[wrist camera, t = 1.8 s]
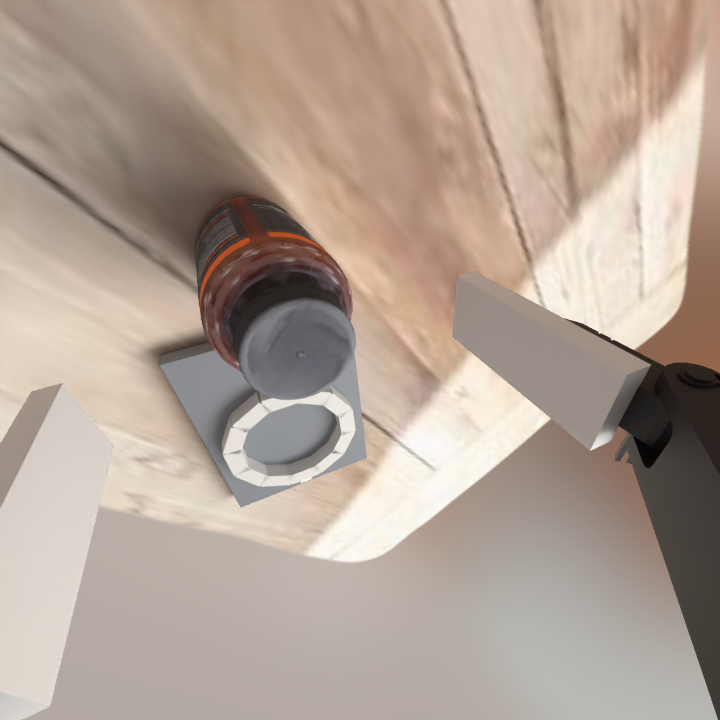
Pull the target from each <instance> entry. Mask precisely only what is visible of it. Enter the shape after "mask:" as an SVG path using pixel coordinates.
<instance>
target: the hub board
mask: <svg viewBox="0 0 720 720" xmlns="http://www.w3.org/2000/svg"><path fill="white" fill-rule="evenodd" d="M160 367H161V369H162V371H163V372H164V374H165V376H166V378H167V379H168V381H169V383H170V385H171V386H172V388H173V390H174V392H175V393H176V395H177V397H178V399H179V400H180V402H181V404H182V406H183V407H184V409H185V411H186V413H187V414H188V416H189V418H190V420H191V421H192V423H193V425H194V427H195V428H196V430H197V432H198V434H199V435H200V437H201V439H202V441H203V442H204V444H205V446H206V448H207V449H208V451H209V453H210V455H211V456H212V458H213V460H214V462H215V463H216V465H217V467H218V468H219V470H220V472H221V474H222V475H223V477H224V479H225V481H226V482H227V484H228V486H229V488H230V489H231V491H232V493H233V495H234V496H235V498H236V500H237V502H238V503H239V505H240V507H243V506H246V505H248V504H251V503H253V502H256V501H258V500H261V499H264V498H266V497H269V496H271V495H274V494H276V493H279V492H281V491H284V490H286V489H289V488H291V487H294V486H296V485H299V484H301V483H304V482H307V481H309V480H312V479H314V478H317V477H319V476H322V475H324V474H327V473H329V472H332V471H334V470H337V469H339V468H342V467H345V466H347V465H350V464H352V463H355V462H357V461H360V460H362V459H365V458H367V455H366V446H365V438H364V430H363V421H362V413H361V405H360V396H359V388H358V380H357V371H356V363H355V354H354V355H353V359H352V360H351V362H350V364H349V366H348V368H347V370H346V371H345V372H344V374H343V375H342V376H341V378H340V379H339V380H337V381H336V382H335V383H334V384H333V385H331V386H330V387H329V388H327V389H326V390H324V391H322V392H320V393H318V394H316V395H314V396H310V397H307V398H303V399H297V400H279V399H274V398H271V397H268V396H266V395H264V394H261V393H259V392H258V391H257V390H255V389H254V388H253V387H251V385H250V384H249V383H248V382H247V381H246V380H245V378H244V376H243V374H242V372H240V371H238V370H236V369H235V368H233V367H232V366H230V365H229V364H227V363H226V362H225V361H224V360H223V359H222V358H221V357H220V356H219V355H218V354H217V353H216V352H215V351H214V349H213V348H212V346H211V345H210V343H209V342H206V343H202V344H199V345H195V346H191V347H188V348H184V349H180V350H176V351H173V352H169V353H165V354H162V355H161V358H160Z"/></svg>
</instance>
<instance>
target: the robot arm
mask: <svg viewBox="0 0 720 720" xmlns="http://www.w3.org/2000/svg"><path fill="white" fill-rule="evenodd" d="M453 338H455V339H456V340H457V341H458V342H460V343H461V344H462V345H463V346H464V347H466V348H467V349H468V350H469V351H470V352H472V353H473V354H474V355H475V356H476V357H478V358H479V359H480V360H481V361H482V362H484V363H485V364H486V365H487V366H489V367H490V368H491V369H492V370H493V371H495V372H496V373H497V374H498V375H499V376H501V377H502V378H503V379H504V380H505V381H507V382H508V383H509V384H510V385H511V386H513V387H514V388H515V389H516V390H517V391H519V392H520V393H521V394H522V395H524V396H525V397H526V398H527V399H528V400H530V401H531V402H532V403H533V404H534V405H536V406H537V407H538V408H539V409H540V410H542V411H543V412H544V413H545V414H546V415H548V416H549V417H550V418H551V419H553V420H554V421H555V422H556V423H557V424H559V425H560V426H561V427H562V428H564V429H565V430H566V431H567V432H568V433H569V434H571V435H572V436H573V437H574V438H575V439H577V440H578V441H579V442H580V443H582V444H583V445H584V446H585V447H586V448H588V449H589V450H590V451H591V450H593V449H595V448H597V447H599V446H601V445H603V444H605V443H607V442H609V441H611V439H612V437H613V435H614V433H615V432H616V430H617V428H618V426H620V427H621V428H623V429H624V430H626V431H627V432H628V433H627V435H626V437H625V438H624V440H623V442H622V444H621V445H620V447H619V449H618V451H617V452H616V454H615V460H616V461H620V460H621V458H622V457H623V455H624V453H625V452H627V451H628V454H629V458H628V459H627V461H626V462H627V463H631V464H632V465H633V468H634V471H635V474H636V477H637V480H638V483H639V486H640V489H641V492H642V495H643V498H644V501H645V504H646V507H647V510H648V513H649V516H650V519H651V522H652V525H653V528H654V531H655V534H656V537H657V539H658V543H659V545H660V548H661V551H662V554H663V557H664V560H665V563H666V566H667V569H668V572H669V575H670V578H671V581H672V584H673V587H674V590H675V593H676V596H677V599H678V602H679V605H680V608H681V611H682V614H683V617H684V620H685V623H686V626H687V629H688V632H689V635H690V637H691V640H692V643H693V646H694V649H695V652H696V655H697V658H698V661H699V664H700V667H701V670H702V673H703V676H704V679H705V682H706V685H707V688H708V691H709V694H710V697H711V700H712V703H713V706H714V709H715V711H716V715H717V718H718V720H720V373H718V372H716V371H714V370H712V369H709V368H706V367H704V366H700V365H696V364H690V363H672V364H669V365H667V366H663V365H661V364H659V363H657V362H655V361H654V360H651V359H650V358H648V357H646V356H644V355H642V354H640V353H638V352H636V351H634V350H632V349H630V348H628V347H627V346H625V345H623V344H621V343H619V342H617V341H615V340H613V341H612V340H611V338H609V337H607V336H605V335H603V334H599V333H598V331H596V330H594V329H592V328H590V327H588V326H586V325H584V324H582V323H578V322H575V321H572V320H568V319H565V318H562V317H560V316H558V315H556V314H555V313H553V312H551V311H549V310H547V309H545V308H543V307H541V306H539V305H538V304H536V303H534V302H532V301H530V300H528V299H526V298H524V297H522V296H521V295H519V294H517V293H515V292H513V291H511V290H509V289H507V288H505V287H504V286H502V285H500V284H498V283H496V282H494V281H492V280H490V279H489V278H487V277H485V276H483V275H481V274H479V273H477V272H475V271H473V272H470V273H466V274H462V275H459V276H458V278H457V290H456V302H455V313H454V325H453ZM113 447H114V446H113V444H112V443H111V442H110V441H109V439H108V438H107V437H106V436H105V435H104V433H103V432H102V431H101V430H100V428H99V427H98V426H97V425H96V423H95V422H94V421H93V420H92V419H91V417H90V416H89V415H88V414H87V412H86V411H85V410H84V409H83V407H82V406H81V405H80V404H79V403H78V401H77V400H76V399H75V398H74V396H73V395H72V394H71V393H70V391H69V390H68V389H67V388H66V387H65V385H64V384H63V383H62V384H58V385H54V386H51V387H47V388H43V389H39V390H36V391H32V392H31V393H30V395H29V397H28V398H27V400H26V402H25V403H24V405H23V407H22V408H21V410H20V412H19V413H18V415H17V417H16V418H15V420H14V422H13V423H12V425H11V427H10V428H9V430H8V432H7V433H6V435H5V437H4V438H3V440H2V442H1V443H0V720H22V719H24V718H26V717H28V716H30V715H33V714H35V713H37V712H39V711H41V710H43V709H45V708H47V707H49V706H50V704H51V700H52V696H53V692H54V688H55V683H56V679H57V675H58V671H59V667H60V663H61V659H62V655H63V651H64V647H65V643H66V638H67V634H68V630H69V626H70V622H71V618H72V614H73V610H74V606H75V602H76V598H77V594H78V590H79V585H80V581H81V577H82V573H83V569H84V565H85V561H86V557H87V553H88V548H89V545H90V540H91V536H92V532H93V528H94V524H95V520H96V516H97V512H98V508H99V504H100V500H101V496H102V492H103V487H104V483H105V479H106V475H107V471H108V467H109V463H110V459H111V455H112V451H113Z"/></svg>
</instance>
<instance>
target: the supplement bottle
mask: <svg viewBox="0 0 720 720" xmlns="http://www.w3.org/2000/svg"><path fill="white" fill-rule="evenodd" d="M195 258H196V269H197V283H198V293H199V295H198V298H199V307H200V313H201V320H202V325H203V328H204V332H205V335H206V337H207V339H208V341H209V343H210V345H211V346H212V348H213V349H214V351H215V352H216V353H217V354H218V355H219V356H220V357H221V358H222V359H223V360H224V361H225V362H226V363H227V364H229V365H230V366H232V367H233V368H235V369H236V370H238V371H240V372H242V374H243V376H244V378H245V380H246V381H247V382H248V383H249V384H250V385H251V387H253V388H254V389H255V390H257V391H258V392H259V393H261V394H264V395H266V396H268V397H271V398H274V399H279V400H297V399H303V398H307V397H310V396H314V395H316V394H318V393H320V392H322V391H324V390H326V389H327V388H329V387H330V386H331V385H333V384H334V383H335V382H336V381H337V380H339V379H340V378H341V376H342V375H343V374H344V372H345V371H346V370H347V368H348V366H349V364H350V362H351V360H352V359H353V355H354V351H355V345H356V340H355V332H354V328H353V326H352V324H351V318H352V312H353V303H352V294H351V289H350V286H349V283H348V281H347V279H346V277H345V275H344V273H343V271H342V270H341V268H340V267H339V265H338V264H337V263H336V261H335V260H334V259H333V258H332V257H331V256H330V255H329V254H328V253H327V252H326V251H325V250H324V249H323V247H322V246H320V245H319V244H318V243H317V242H316V240H315V239H314V238H313V237H312V236H311V235H310V234H309V233H308V232H307V231H306V230H305V229H304V228H303V227H302V226H301V225H300V224H299V223H298V222H297V221H296V220H295V219H294V218H293V217H292V216H291V215H290V214H288V213H287V212H286V211H285V210H284V209H282V208H281V207H279V206H277V205H276V204H274V203H272V202H270V201H268V200H265V199H262V198H257V197H237V198H232V199H229V200H226V201H224V202H222V203H220V204H218V205H217V206H215V207H214V208H213V209H212V210H211V211H210V212H209V213H208V214H207V215H206V216H205V218H204V219H203V221H202V223H201V225H200V227H199V229H198V232H197V236H196V242H195Z"/></svg>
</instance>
